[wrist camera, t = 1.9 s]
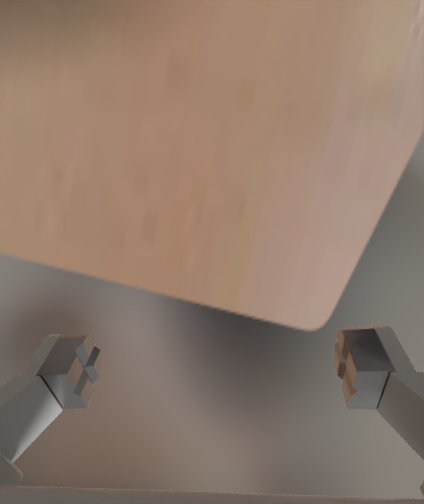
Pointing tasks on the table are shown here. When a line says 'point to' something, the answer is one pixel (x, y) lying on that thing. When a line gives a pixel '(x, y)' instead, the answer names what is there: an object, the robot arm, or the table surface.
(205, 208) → the table surface
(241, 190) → the table surface
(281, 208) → the table surface
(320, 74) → the table surface
